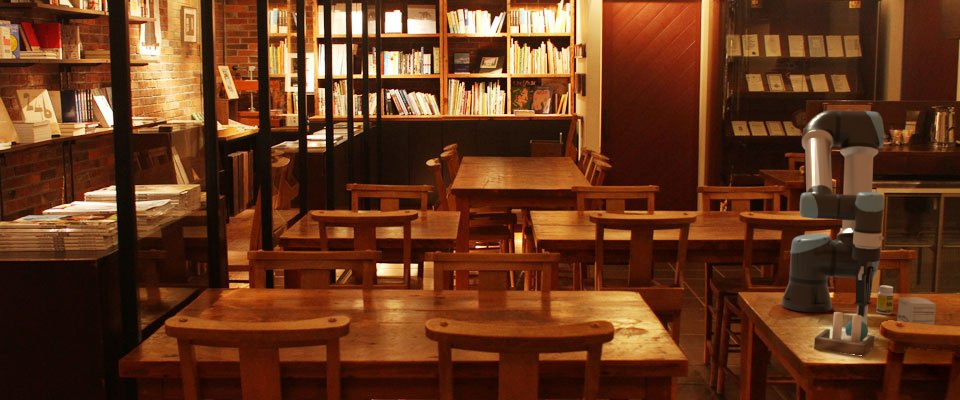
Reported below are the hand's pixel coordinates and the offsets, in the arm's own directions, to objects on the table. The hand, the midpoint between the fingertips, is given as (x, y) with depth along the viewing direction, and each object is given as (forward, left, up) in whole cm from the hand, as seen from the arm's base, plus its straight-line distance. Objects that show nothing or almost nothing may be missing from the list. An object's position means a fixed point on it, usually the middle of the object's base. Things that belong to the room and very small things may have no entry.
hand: (861, 326), depth 299 cm
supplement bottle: (0, +31, -2) cm, 31 cm away
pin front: (0, -14, -1) cm, 14 cm away
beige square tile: (0, -6, -2) cm, 6 cm away
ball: (+1, -10, +1) cm, 10 cm away
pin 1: (-2, -17, -2) cm, 18 cm away
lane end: (0, -19, -2) cm, 19 cm away
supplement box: (+15, -3, -2) cm, 15 cm away
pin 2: (+2, -17, -2) cm, 18 cm away
